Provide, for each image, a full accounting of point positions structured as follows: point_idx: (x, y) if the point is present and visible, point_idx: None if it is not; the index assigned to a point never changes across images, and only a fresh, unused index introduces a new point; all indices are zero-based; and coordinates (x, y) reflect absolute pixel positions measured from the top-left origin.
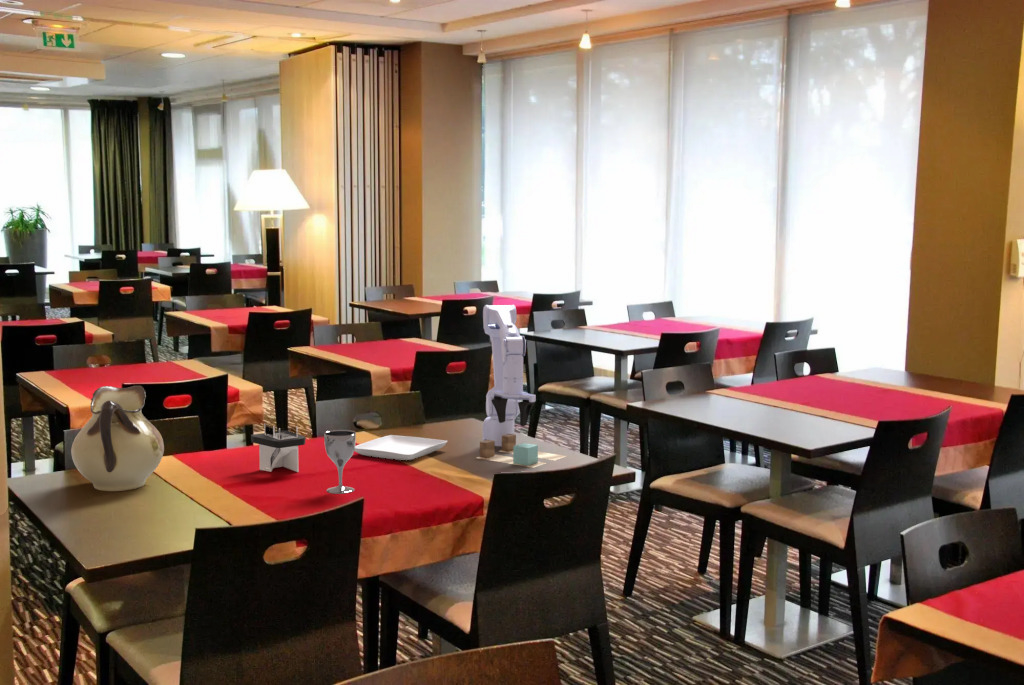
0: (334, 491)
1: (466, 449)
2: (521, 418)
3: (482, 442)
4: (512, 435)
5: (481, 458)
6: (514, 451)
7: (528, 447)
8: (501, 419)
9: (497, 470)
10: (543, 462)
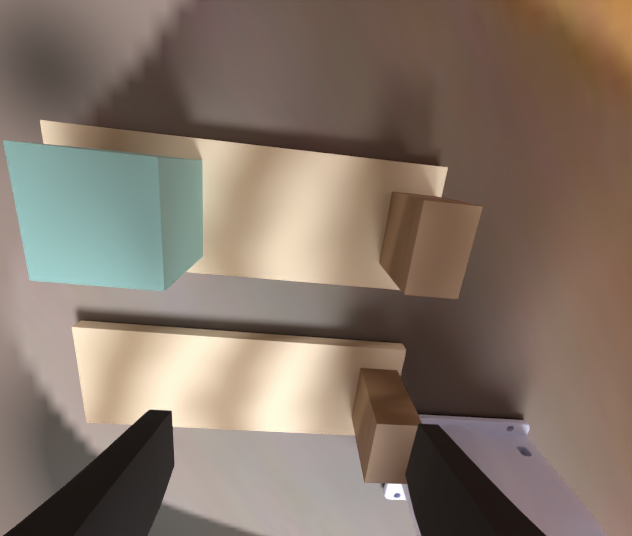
0: None
1: (566, 350)
2: (96, 477)
3: (458, 203)
4: (370, 458)
5: (413, 170)
6: (166, 157)
7: (23, 169)
8: (430, 461)
9: (225, 13)
10: None
